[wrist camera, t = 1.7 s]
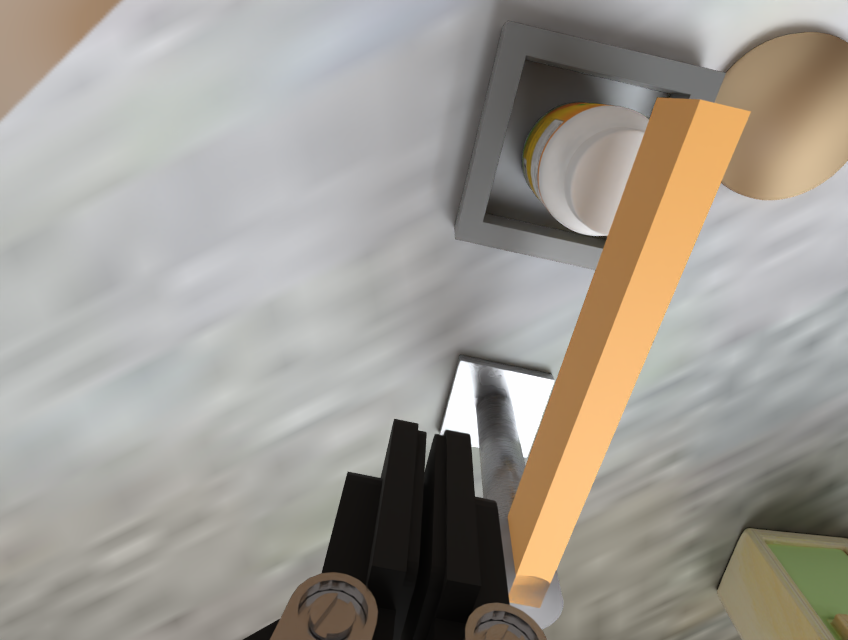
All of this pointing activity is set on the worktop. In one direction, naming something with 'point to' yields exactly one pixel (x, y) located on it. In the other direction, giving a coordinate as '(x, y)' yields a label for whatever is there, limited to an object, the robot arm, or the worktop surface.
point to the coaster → (788, 115)
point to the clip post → (497, 420)
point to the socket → (496, 114)
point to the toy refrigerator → (787, 586)
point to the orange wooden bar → (614, 336)
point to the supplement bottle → (583, 162)
